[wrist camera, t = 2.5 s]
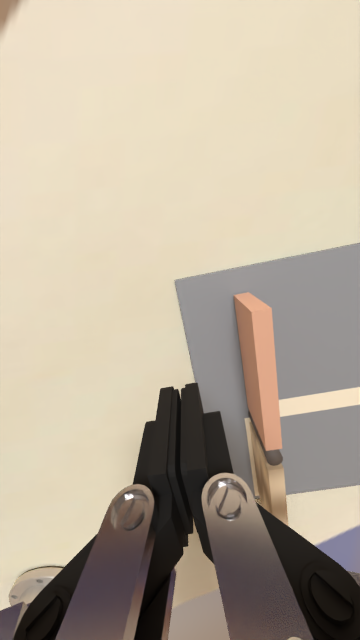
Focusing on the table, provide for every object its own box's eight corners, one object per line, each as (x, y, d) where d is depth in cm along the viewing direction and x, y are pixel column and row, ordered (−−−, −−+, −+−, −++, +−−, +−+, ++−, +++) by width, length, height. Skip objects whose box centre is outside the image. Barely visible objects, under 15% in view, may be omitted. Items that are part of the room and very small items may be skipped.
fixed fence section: (269, 490, 25) (289, 548, 20) (258, 492, 25) (276, 550, 21) (259, 406, 22) (282, 452, 17) (247, 408, 22) (266, 455, 17)
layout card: (390, 477, 25) (393, 480, 25) (220, 500, 26) (220, 503, 26) (421, 230, 17) (425, 230, 17) (174, 280, 18) (174, 280, 18)
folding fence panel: (260, 405, 21) (282, 448, 17) (247, 407, 21) (266, 451, 17) (248, 292, 18) (271, 308, 13) (233, 295, 18) (251, 311, 13)
